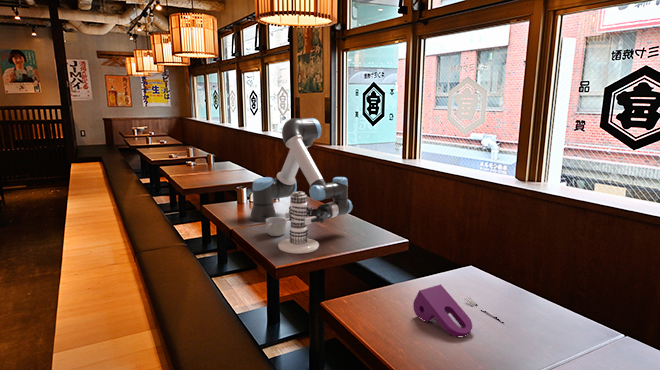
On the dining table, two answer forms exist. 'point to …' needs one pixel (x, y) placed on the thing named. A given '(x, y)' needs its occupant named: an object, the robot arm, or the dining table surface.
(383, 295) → the dining table surface
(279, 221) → the teacup
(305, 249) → the candle plate
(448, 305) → the mounting bracket
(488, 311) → the fork
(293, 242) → the decorative candle
